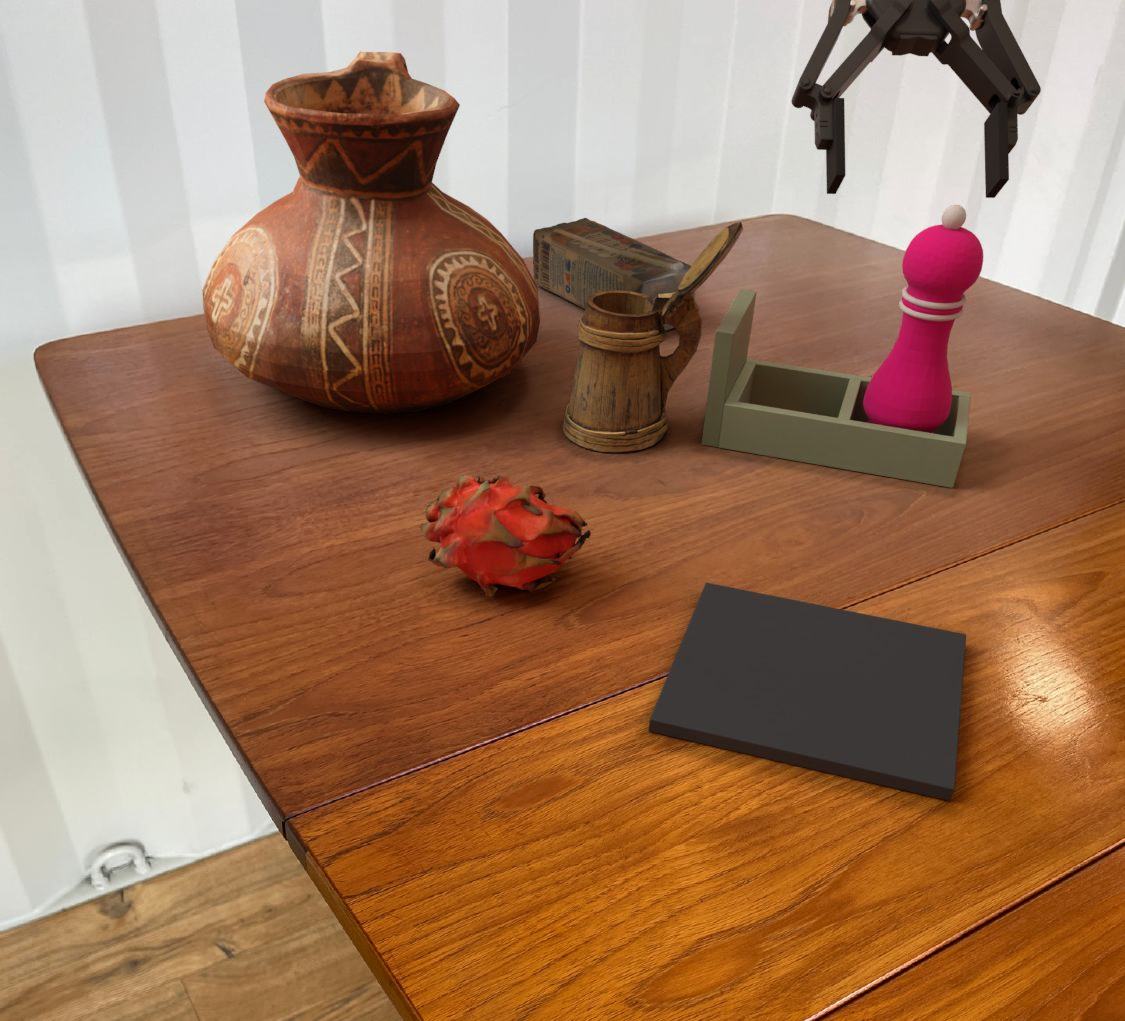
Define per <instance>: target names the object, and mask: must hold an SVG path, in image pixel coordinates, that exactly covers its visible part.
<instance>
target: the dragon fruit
mask: <svg viewBox="0 0 1125 1021" xmlns="http://www.w3.org/2000/svg"><path fill="white" fill-rule="evenodd" d="M477 475H478V477H477V480H476V479H475V478H474V477H473V476H472V475H470V474H463V475H461V476H459V477H457V481H458V482H457V481H456V483H455V485H456V486H452V487H449V488H448V487H447V488H445V489H442V490H441V492H440V495H439V496H438V497H437V498H436V499H435V500H433V501H431V502H429V503H427V504H426V509H425V518H426V521H427V522H424V523H421V524H420V525H419V527H420V530H421V532H422V534H423V536H424V538H425V539H426V540H427V541H429V542H430V543H431V542H432V543H438V544H440V547H439V550H438V552H437V549H436V548H435V547H433V548H432V549H431V551H429V553H428V557H427V558H428V559H427V560H428V562H431V563H432V564H434V565H436V566H437V567H440V568H444V569H450V568H452V567H457V568H458V569H459V570H460V571H461V572H462V573H463V574H464V575H466V577H467V579H468V580H469V581H474V582H476V583H477V584H478V585H479V586H480V589H481V590H482V591H484V593H485V594H484V596H485V597H494V596H495V593H496V592H497V590H498V587H497V586H495V585H501V586H507V587H514V588H517V589H519V590H521V591H524V590H528V591H529V592H534V591H536V590H540V589H543V588H545V587H547V586H549V585H551V584H554V583H555V581H557V578H555V577H552V576H551V577H546V576H548V575H551V574H553V573H556V572H557V571H558V570H559V569H560V568H561V567H562V566H563V565H564V564H565V563H566V561H568V560H572V556H574V555H575V554H576V553H577V552H578V551H580V550H581V548H582V547H583V545H584V544H585V543H586V541H587V539H590V537H591V531H590V530H589V529H588V530H587V531H585V532H584V533H582V531H583V530H582V529H583V527H586V526H588V523H587V522H586V521H585V519H583V517H582V516H581V514H580V513H579V512H578V511H575V510H573V509H572V508H569V507H565V506H561V505H555V504H548V501H546V500H545V498H546V496H547V495H546V493H545V491H544V488H543V487H541V486H540V485H533V484H531V485H529V484H527V483H522V484H520V485H518V486H516V487H514V486H512V484H511V481H510V478H509V477H508V476H507V475H500V474H499V475H496V476H495V477H493V478H492V480H490V479H487V480H486V479H485V477H484V476H483V475H482V474H481V473H478V474H477ZM537 495H538V496H537ZM577 539H578V540H577Z"/></svg>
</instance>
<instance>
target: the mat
mask: <svg viewBox="0 0 1125 1021" xmlns="http://www.w3.org/2000/svg"><path fill="white" fill-rule="evenodd" d="M966 643H967V634H966V633H962V632H956V631H951V630H947V629H941V628H937V627H931V626H926V625H921V624H916V623H911V622H908V621H907V622H906V621H901V620H897V619H892V618H886V617H882V616H876V615H871V614H867V613H861V612H856V611H851V610H846V609H841V608H836V607H832V606H826V605H821V604H817V603H811V602H806V601H801V600H795V599H790V598H787V597H783V596H777V595H771V594H766V593H763V592H762V593H761V592H756V591H751V590H746V589H741V588H736V587H731V586H726V585H721V584H716V583H711V582H705V584H704V586H703V588H702V590H701V593H700V595H699V599H698V600H697V603H696V606H695V608H694V610H693V613H692V615H691V618H690V620H689V623H688V625H687V628H686V630H685V632H684V635H683V637H682V640H681V642H680V645H679V647H678V650H677V652H676V654H675V657H674V660H673V662H672V664H671V666H670V669H669V671H668V674H667V677H666V679H665V681H664V684H663V685H662V689H661V691H660V693H659V696H658V698H657V701H656V704H655V706H654V708H653V710H652V713H651V715H650V718H649V723H648V732H651V733H655V734H659V735H663V736H667V737H672V738H675V739H681V740H685V741H689V742H692V743H696V744H697V743H698V744H702V745H706V746H711V747H715V748H719V749H724V750H728V751H733V752H736V753H741V754H744V755H750V756H754V757H757V758H763V759H767V760H771V761H775V762H779V763H784V764H787V765H793V766H796V767H801V768H806V769H810V770H814V771H818V772H823V773H827V774H832V775H836V776H839V777H845V778H848V779H853V780H857V781H861V782H866V783H870V784H874V785H879V786H883V787H888V788H891V789H896V790H900V791H904V792H908V793H914V794H917V795H922V796H927V797H930V798H935V799H939V800H943V801H947V802H950V801H951V800H952V798H953V795H954V792H955V790H956V775H957V764H958V749H959V737H960V736H959V735H960V724H961V723H960V722H961V710H962V697H963V695H962V694H963V684H964V683H963V682H964V670H965V659H966V658H965V657H966V656H965V655H966V645H967V644H966Z"/></svg>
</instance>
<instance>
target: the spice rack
mask: <svg viewBox="0 0 1125 1021" xmlns="http://www.w3.org/2000/svg"><path fill="white" fill-rule="evenodd" d="M757 294H758V293H757V291H756V290H749V289H742V288H740V289H739V291H738V293H737V294H736V295H735V297H734V299H733V301H732V302H731V304H730V306H729V308H728V310H727V311H726V312H725V315H724V316H723V318H722V320H721V321H720V323H719V325H718V327H717V328H716V330H715V334H714V343H713V348H712V349H713V351H712V359H711V366H710V373H709V382H708V390H707V397H706V405H705V414H704V421H703V422H704V423H703V430H702V439H701V445H702V446H707V447H713V448H718V449H724V450H730V451H735V452H742V453H747V454H753V455H757V456H758V455H759V456H764V457H771V458H775V459H776V458H777V459H781V460H787V461H793V462H799V463H805V464H811V465H818V466H824V467H828V468H834V469H839V470H847V471H851V472H858V473H863V474H869V475H874V476H881V477H887V478H891V479H898V480H904V481H909V482H915V483H921V484H927V485H931V486H939V487H944V488H949V489H953V488H954V486H955V482H956V480H957V476H958V473H959V470H960V466H961V463H962V459H963V457H964V454H965V450H966V446H967V439H968V431H969V430H968V429H969V420H970V409H971V398H972V392H967V391H961V390H955V389H952V402H951V408H950V413H949V415H948V418H947V419H946V420H945V422H944V423H943V424H942V425H940V426H939V427H938V428H937V429H935V430H934V431H933V432H934V433H935V434H933V433H927V432H921V431H914V430H908V429H902V428H896V427H890V426H884V425H878V424H872V423H866V422H868V421H869V418H868V417H867V415H866V413H865V410H864V407H863V399H864V396H865V393H866V389H867V386H868V384H869V382H870V381H871V379H872V377H871V376H863V375H858V374H850V373H845V372H837V371H832V370H825V369H818V368H813V367H805V366H799V365H792V364H788V363H787V364H786V363H781V362H773V361H766V360H761V359H753V358H748V353H749V345H750V341H751V333H752V328H753V327H752V326H753V319H754V314H755V307H756V301H757V300H756V299H757Z"/></svg>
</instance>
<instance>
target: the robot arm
mask: <svg viewBox="0 0 1125 1021" xmlns="http://www.w3.org/2000/svg"><path fill="white" fill-rule="evenodd" d="M857 15H861V17H862V19H863V21H864V23H865V24H866V25H867V26H868V28H869V29H870V30H869V32H868V33H867V34H866V35H865V36H864V37H863V39H862V40H861V41H860V42H859V43H858V44H857V45H856V47H854V49H853V50H852V51H851V52H850V54H848V56H847V57H846V58H845V59H844V60H843V62H842V63H841V64H840V65H839V66H838V67H837V68H836V69H835V71H833V73H831V75H830V77H828V79H827V80H826V81H825V82H824V83H823V85H822V84H819V83H817V81H818V79H819V78H820V76H821V73H822V72H823V69H824V67H825V65H826V63H827V62H828V60H829V57H830V56H831V54H832V52H833V50H834V48H835V45H836V43H837V42H838V40H839V37H840V35H841V33H842V30H843V29H844V27H847V26H848V25H850V24H851V23H853V22H854V20H855V17H856V16H857ZM962 18H964V19H966V20H967V21H968V23H969V25H968V24H967V23H966V22H965V20H963V19H962ZM971 31H972V32H975V36H976V39H977V42H978V43H977V42H976V41H975V40H974V39H973V37H972V36H971ZM949 35H950V40H949V42H947V41H946V39H947V37H948V36H949ZM883 50H887V51H888V52H891V56H900V57H901V56H905V55H909V54H910V55H914V56H917V57H929V55H930V54H932V55H933V56H934V58H936V59H937V61H938V62H939V63H940V64H941V65H944V66H945V65H947V66H948V67H949V68H950V69H951V70H952V71H953V72H954V74H955V75H956V76H957V77H958V78H959V79H960V81H962V82H961V83H963V84H964V85H965V86H966V88H967V89H968V90H969V91H970V92H971V93H972V94H973V96H974V97H975V98H976V99H977V101H979V103H980V104H981V105H982V106H983V107H984V109H985V110H986V111H987V112H988V113H989V115H988V117H987V118H986V120H985V121H984V122H983V134H984V136H983V137H984V138H983V139H984V140H983V141H984V142H983V143H984V180H985V181H984V182H985V184H984V185H985V198H986V199H995V198H996V197H997V195H998V194H999V193H1000V192H1001V190H1002V189H1003V188H1004V187H1005V185H1006V184H1007V183H1008V182H1009V180H1010V165H1009V163H1010V162H1009V158H1010V157H1009V154H1010V153H1011V152H1012V151H1013V149H1014V148H1015V147H1016V145H1017V143H1018V140H1019V133H1018V132H1019V127H1018V126H1019V124H1018V123H1019V122H1018V121H1019V120H1018V115H1019V116H1020V115H1024V114H1026V113H1027V111H1028V110H1029V109H1030V107H1031V106H1032V105H1033V103H1034V102H1035V101H1036V99H1037V98H1038V96H1039V95H1040V94H1041V92H1042V88H1041V85H1040V84H1039V81H1038V80H1037V77H1036V75H1035V74H1034V72H1033V70H1032V68H1031V66H1030V64H1029V62H1028V60H1027V58H1026V57H1025V54H1024V53H1023V51H1022V49H1021V47H1020V45H1019V43H1018V41H1017V39H1016V38H1015V35H1014V33H1013V32H1012V30H1011V27H1010V26H1009V24H1008V22H1007V20H1006V18H1005V16H1004V14H1003V10H1002V2H1001V0H831V4H830V5H829V9H828V16H827V23H826V25H825V28H824V30H823V31H822V34H821V35H820V38H819V40H818V42H817V44H816V46H815V48H814V50H813V52H812V54H811V55H810V57H809V60H808V61H807V63H806V65H805V67H804V69H803V71H802V73H801V75H800V77H799V79H798V82H797V84H796V87H795V89H794V91H793V92H794V93H793V95H792V98H791V104H792V106H793V107H794V108H796V109H802V108H804V107H805V108H807V109H809V110H810V114H809V117H810V119H811V121H813V122H814V146H815V148H816V150H818V151H825V162H826V163H825V165H826V166H825V167H826V194H827V195H836V194H837V192H838V191H839V188H840V187H841V185H842V183H843V181H844V179H845V177H846V126H845V124H846V121H845V120H846V119H845V118H846V116H845V97H842V95H843V94H845V92H846V91H847V90H848V88H850V86H851V85H852V84H853V83H854V82H855V80H857V79H858V77H860V75H861V74H862V72H864V70H865V69H866V68H867V67H868V65H869V64H870V63H872V62H874V60H875V59H876V58H877V57H878V56H879V55H880V54H881V52H883Z"/></svg>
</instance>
